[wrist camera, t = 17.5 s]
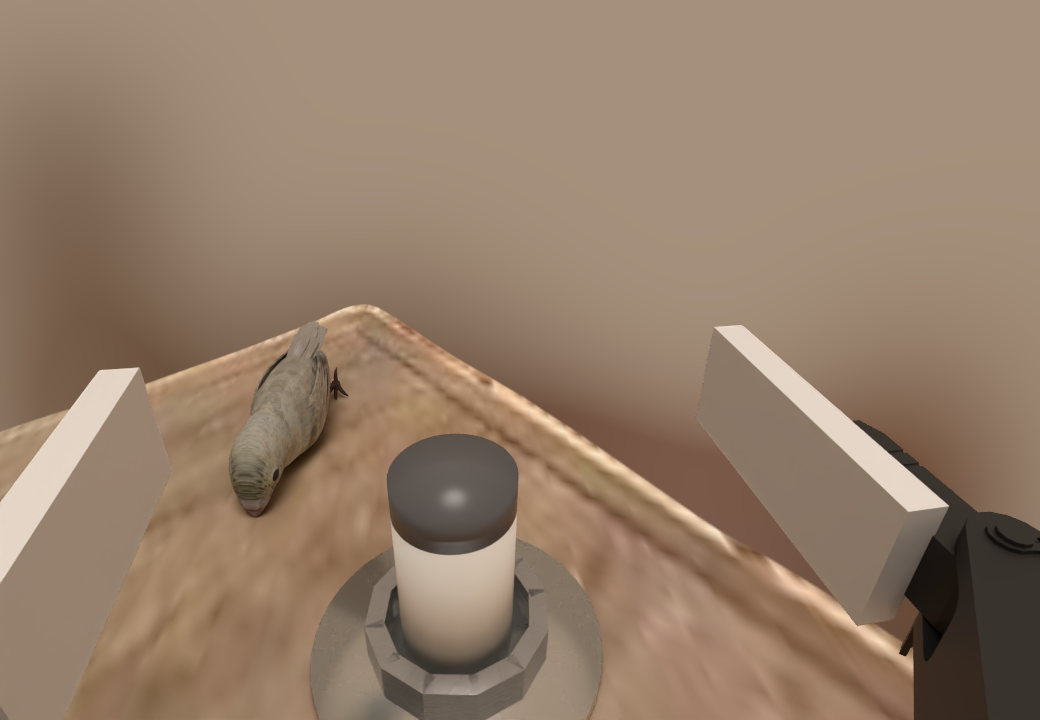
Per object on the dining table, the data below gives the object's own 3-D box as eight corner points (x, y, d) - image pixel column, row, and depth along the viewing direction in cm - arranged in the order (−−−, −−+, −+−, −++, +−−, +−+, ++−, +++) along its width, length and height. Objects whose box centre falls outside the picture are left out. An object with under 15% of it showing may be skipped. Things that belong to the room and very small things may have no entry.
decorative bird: (215, 519, 43) (190, 433, 40) (295, 392, 57) (282, 319, 53) (292, 523, 43) (274, 438, 39) (354, 394, 57) (345, 322, 53)
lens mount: (246, 695, 33) (232, 653, 31) (431, 508, 45) (429, 471, 43) (508, 887, 26) (510, 849, 24) (642, 607, 38) (650, 568, 36)
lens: (380, 656, 34) (358, 489, 27) (444, 578, 38) (437, 420, 32) (474, 710, 31) (473, 542, 25) (530, 620, 36) (540, 459, 30)
